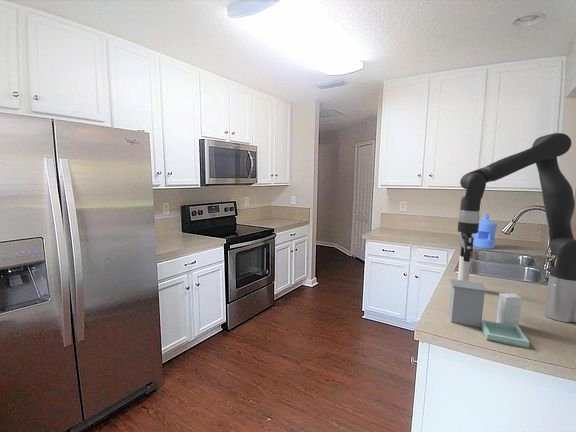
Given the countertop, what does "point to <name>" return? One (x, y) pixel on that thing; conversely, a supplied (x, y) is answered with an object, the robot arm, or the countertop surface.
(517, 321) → the skincare box
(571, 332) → the countertop surface
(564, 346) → the countertop surface
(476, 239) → the water jug
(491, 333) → the tray
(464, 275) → the bottle
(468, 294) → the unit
